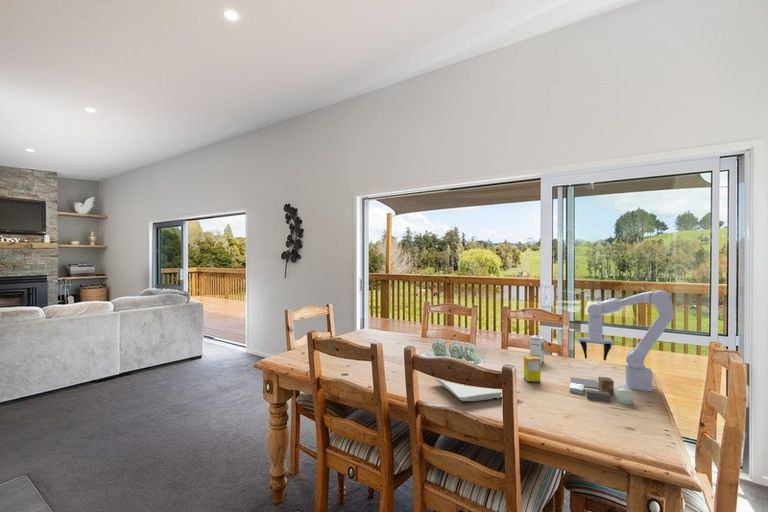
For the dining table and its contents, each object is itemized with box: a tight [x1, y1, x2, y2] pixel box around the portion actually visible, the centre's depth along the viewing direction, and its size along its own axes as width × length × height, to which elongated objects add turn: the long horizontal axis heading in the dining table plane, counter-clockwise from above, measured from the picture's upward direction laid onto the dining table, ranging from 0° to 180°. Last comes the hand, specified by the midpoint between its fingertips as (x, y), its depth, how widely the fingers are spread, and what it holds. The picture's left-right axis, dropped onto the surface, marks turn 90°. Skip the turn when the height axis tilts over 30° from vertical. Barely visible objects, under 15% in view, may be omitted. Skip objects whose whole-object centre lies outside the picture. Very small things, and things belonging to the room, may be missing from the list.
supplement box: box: [523, 355, 542, 384], centre depth 172 cm, size 6×6×11 cm
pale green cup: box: [614, 386, 634, 406], centre depth 148 cm, size 6×6×5 cm
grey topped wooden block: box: [569, 382, 585, 395], centre depth 159 cm, size 7×5×2 cm
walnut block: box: [597, 376, 615, 396], centre depth 157 cm, size 4×4×6 cm
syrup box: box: [529, 335, 545, 366], centre depth 199 cm, size 6×6×14 cm
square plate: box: [434, 378, 520, 402], centre depth 160 cm, size 27×27×4 cm
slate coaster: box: [569, 376, 598, 390], centre depth 168 cm, size 11×11×1 cm
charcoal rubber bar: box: [585, 388, 611, 402], centre depth 151 cm, size 8×3×3 cm, turn 67°
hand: (595, 359), depth 173 cm, fingers open, 7 cm apart
